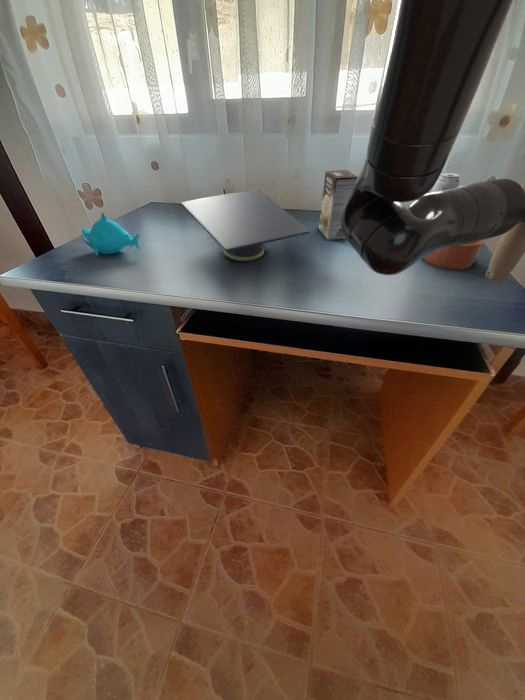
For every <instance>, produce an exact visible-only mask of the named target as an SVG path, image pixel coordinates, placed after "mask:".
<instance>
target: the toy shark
mask: <svg viewBox="0 0 525 700" xmlns="http://www.w3.org/2000/svg"><path fill="white" fill-rule="evenodd" d="M81 231H82V232H81V239H82V240H83V242H84V243H85V244H87V246H89V247H90V248H91V249H92V250H94V254H95V255H96V256H99V254H102V255H114V254H116V253H118V252H120V251H121V250H123V249H124V248H125V247H128V246H129V247H130V248H133V246H135V247H136V248H137V249H138V250H140V249H141V248H140V246H139V237H140V234H139V233H137V234H135V236H134V237H132V236H131V235H130V234H129V232H127V230H125V228H123V227H121V226H120V224H119V223H117V222H115V221H113V220H111V219H108V218H107V217H106V216H105V213H104V211H102V212H101V216H100V218H99V219H97V220H96V221H94V223H93V225H92V227H91V229H90V228H87V227H82V228H81Z"/></svg>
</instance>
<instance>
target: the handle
mask: <svg viewBox="0 0 525 700" xmlns="http://www.w3.org/2000/svg"><path fill="white" fill-rule="evenodd" d="M520 186H521V187H522V188H523V190H524V192H525V182H523V183H521V184H520ZM524 254H525V222H521V223H519V224H517V225H516V226H514V227H513V228H512V229H510V230H509V231H508V232H506V233H504V234H503V236H502V238H501V239H500V241H499V242H498V245H497V246H496V248H495V250H494V252H493V255H492V257H491V259H490V261H489V265H488V269H487V270H486V272H485V278H487V279H489V280H490V281H496V282H504V281H506V279H507V278H508V276H509V274H510V273H511V272H513V270H514V269H515V267H517V265H518V263H519V262H520V260H521V259H522V257H523V256H524Z"/></svg>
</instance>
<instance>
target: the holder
mask: <svg viewBox="0 0 525 700" xmlns="http://www.w3.org/2000/svg"><path fill="white" fill-rule="evenodd" d="M483 243H484V240H480V241H476V242H472V243H468V244H463V245H453V246H449V247H445V248H441V249H437V250H435V251H433V252H431V253H430V254H428V255H426V256H425V257H423V258H422V259H423V260H424V261H425V262H427V263H428V264H430V265H432V266H435V267H438V268H441V269H448V270H466V269H469V268H471V267H472V265H473V264H474V262H475V260H476V258H477V256H478V254H479V252H480V250H481V248H482V245H483Z"/></svg>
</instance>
